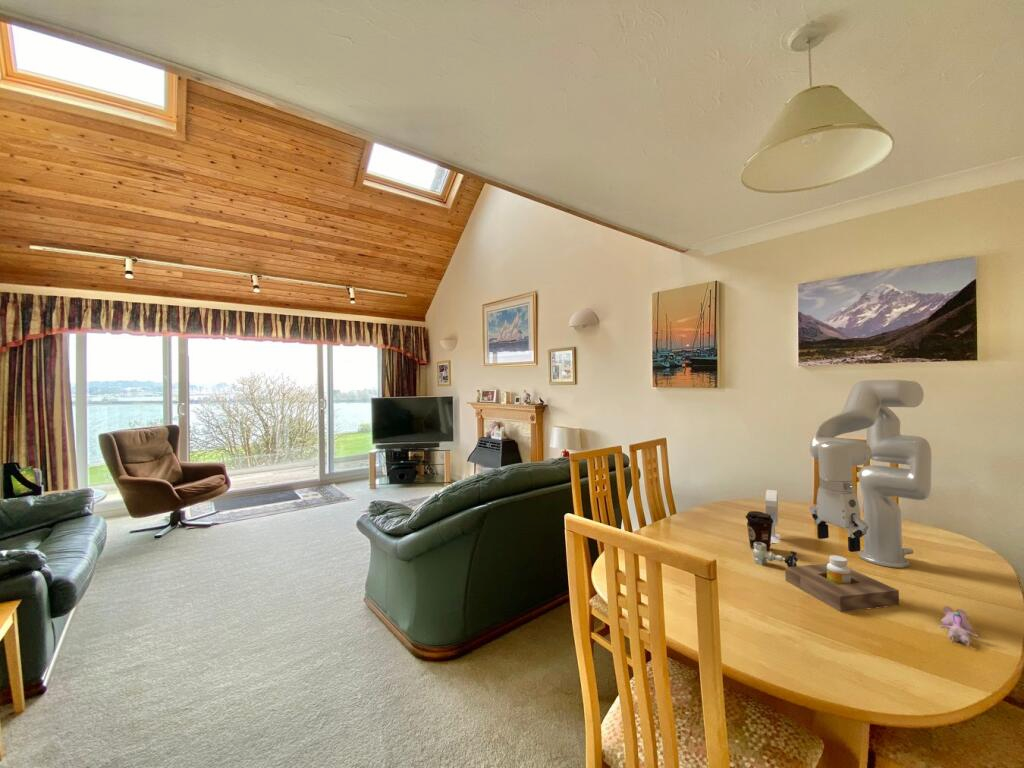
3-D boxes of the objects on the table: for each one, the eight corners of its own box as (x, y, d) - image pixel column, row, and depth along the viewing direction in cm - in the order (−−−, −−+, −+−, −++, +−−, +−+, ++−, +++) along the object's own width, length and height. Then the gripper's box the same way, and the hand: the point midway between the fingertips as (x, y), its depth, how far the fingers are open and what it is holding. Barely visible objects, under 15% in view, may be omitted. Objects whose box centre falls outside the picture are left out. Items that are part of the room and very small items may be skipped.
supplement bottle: (822, 588, 121) (821, 554, 121) (839, 586, 121) (838, 553, 121) (838, 597, 116) (837, 562, 116) (856, 596, 116) (855, 561, 116)
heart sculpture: (780, 545, 153) (778, 497, 153) (764, 543, 156) (763, 495, 156) (780, 533, 166) (779, 488, 166) (766, 531, 169) (765, 487, 169)
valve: (750, 564, 138) (792, 576, 129) (749, 544, 138) (791, 554, 129) (756, 558, 142) (797, 569, 134) (756, 539, 143) (797, 549, 134)
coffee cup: (747, 552, 148) (746, 515, 148) (744, 543, 156) (743, 509, 156) (776, 555, 145) (775, 518, 145) (771, 546, 152) (770, 511, 153)
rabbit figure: (981, 658, 91) (972, 619, 102) (981, 633, 90) (972, 596, 101) (941, 647, 95) (936, 610, 106) (940, 623, 95) (935, 588, 106)
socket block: (837, 575, 129) (836, 562, 129) (899, 605, 111) (898, 590, 111) (785, 580, 126) (785, 567, 126) (840, 611, 108) (839, 596, 108)
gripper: (877, 491, 111) (880, 555, 111) (820, 477, 128) (822, 532, 128) (853, 493, 110) (855, 558, 110) (799, 479, 127) (801, 534, 127)
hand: (838, 544), depth 119 cm, fingers open, 9 cm apart
